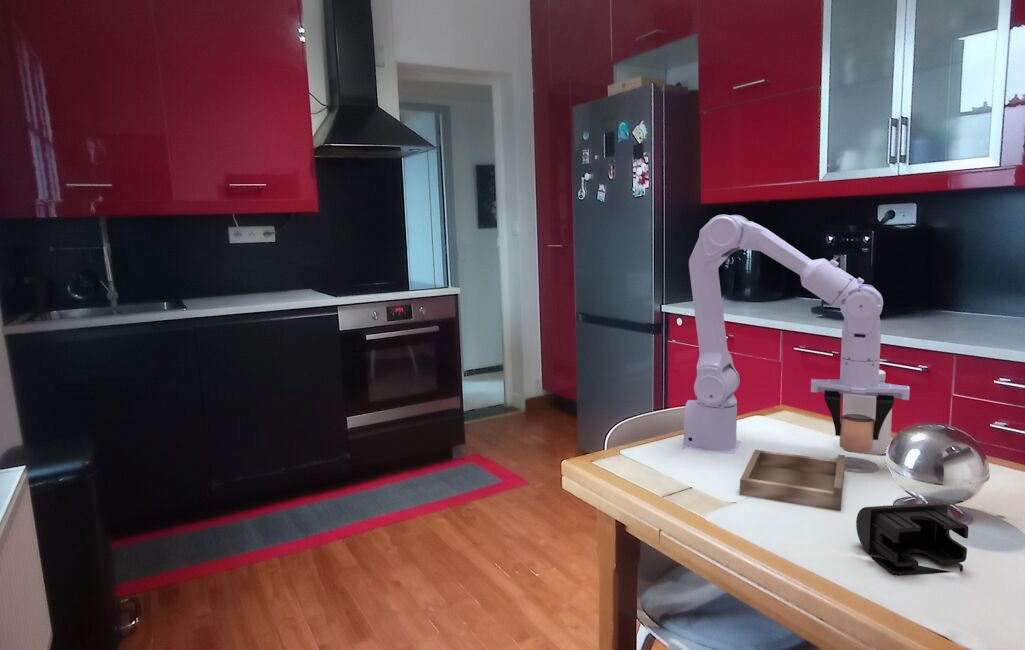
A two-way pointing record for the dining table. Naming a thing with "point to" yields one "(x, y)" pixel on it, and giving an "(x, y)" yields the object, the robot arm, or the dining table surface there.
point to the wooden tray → (794, 479)
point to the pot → (857, 432)
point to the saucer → (859, 465)
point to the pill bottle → (868, 408)
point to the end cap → (911, 536)
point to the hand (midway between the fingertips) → (856, 436)
